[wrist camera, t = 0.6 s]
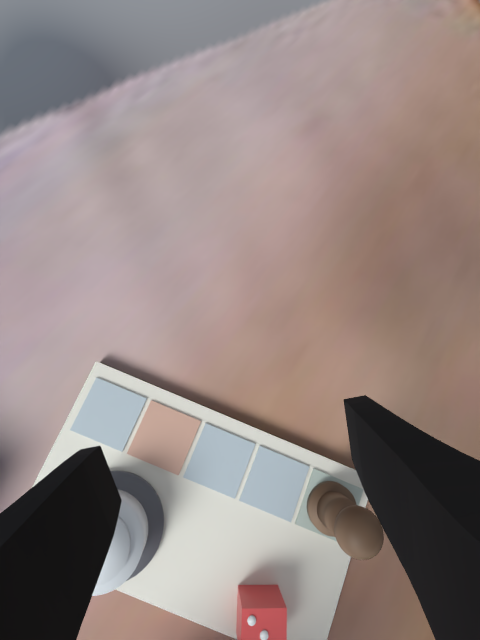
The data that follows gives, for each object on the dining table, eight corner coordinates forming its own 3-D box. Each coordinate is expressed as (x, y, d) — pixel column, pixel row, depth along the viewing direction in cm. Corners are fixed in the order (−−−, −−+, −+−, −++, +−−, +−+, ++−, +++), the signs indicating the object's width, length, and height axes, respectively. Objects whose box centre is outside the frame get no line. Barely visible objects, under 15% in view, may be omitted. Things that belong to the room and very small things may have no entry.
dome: (126, 590, 26) (116, 615, 23) (49, 558, 26) (30, 580, 23) (161, 506, 27) (156, 520, 24) (89, 476, 27) (75, 486, 24)
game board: (313, 663, 28) (319, 678, 27) (10, 538, 28) (-1, 546, 26) (368, 475, 32) (377, 479, 30) (99, 362, 31) (94, 360, 30)
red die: (277, 631, 28) (286, 662, 24) (236, 631, 27) (240, 663, 24) (277, 584, 28) (287, 608, 25) (237, 584, 28) (242, 609, 25)
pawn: (344, 540, 29) (388, 586, 22) (300, 521, 29) (330, 562, 22) (359, 491, 30) (406, 521, 23) (316, 473, 30) (349, 497, 23)
